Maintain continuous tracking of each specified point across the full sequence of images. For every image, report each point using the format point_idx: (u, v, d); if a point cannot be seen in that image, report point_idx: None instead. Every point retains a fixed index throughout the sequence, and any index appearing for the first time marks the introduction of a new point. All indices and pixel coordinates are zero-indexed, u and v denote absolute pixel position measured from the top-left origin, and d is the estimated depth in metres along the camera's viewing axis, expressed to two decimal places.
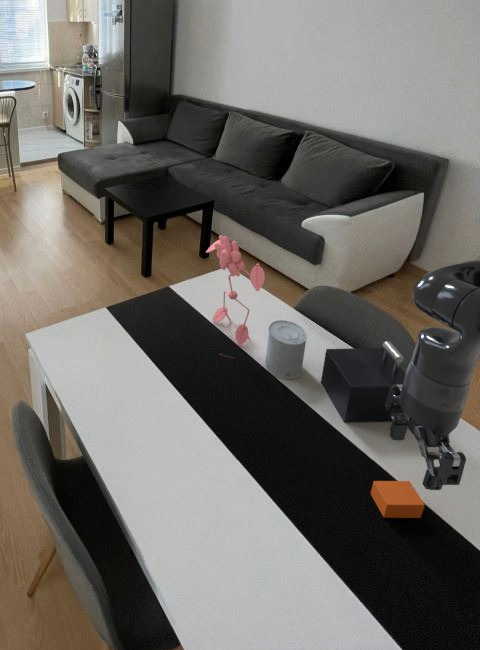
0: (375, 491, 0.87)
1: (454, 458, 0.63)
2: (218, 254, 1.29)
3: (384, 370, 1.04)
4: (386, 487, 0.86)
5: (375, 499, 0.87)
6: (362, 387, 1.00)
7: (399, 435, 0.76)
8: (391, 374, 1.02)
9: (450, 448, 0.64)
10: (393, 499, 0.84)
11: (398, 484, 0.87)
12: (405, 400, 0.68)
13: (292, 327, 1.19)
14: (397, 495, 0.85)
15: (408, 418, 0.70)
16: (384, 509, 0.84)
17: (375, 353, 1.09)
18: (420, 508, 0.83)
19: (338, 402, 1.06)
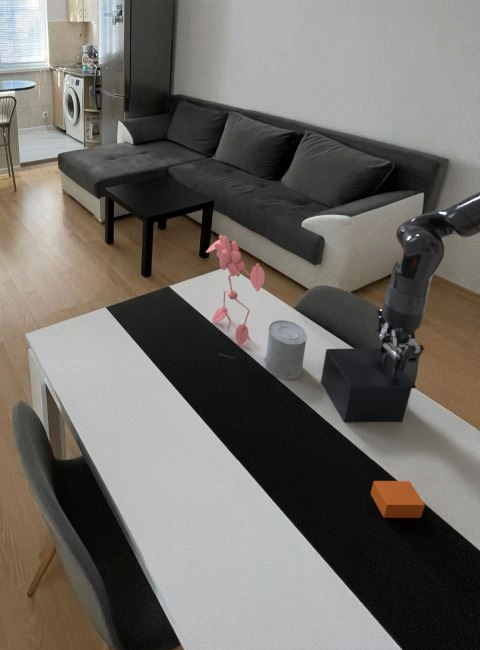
0: (375, 491, 0.87)
1: (416, 349, 0.94)
2: (218, 254, 1.29)
3: (384, 370, 1.04)
4: (386, 487, 0.86)
5: (375, 499, 0.87)
6: (362, 387, 1.00)
7: None
8: (391, 374, 1.02)
9: (414, 342, 0.95)
10: (393, 499, 0.84)
11: (398, 484, 0.87)
12: (385, 311, 0.99)
13: (292, 327, 1.19)
14: (397, 495, 0.85)
15: (388, 325, 1.01)
16: (384, 509, 0.84)
17: (375, 353, 1.09)
18: (420, 508, 0.83)
19: (338, 402, 1.06)
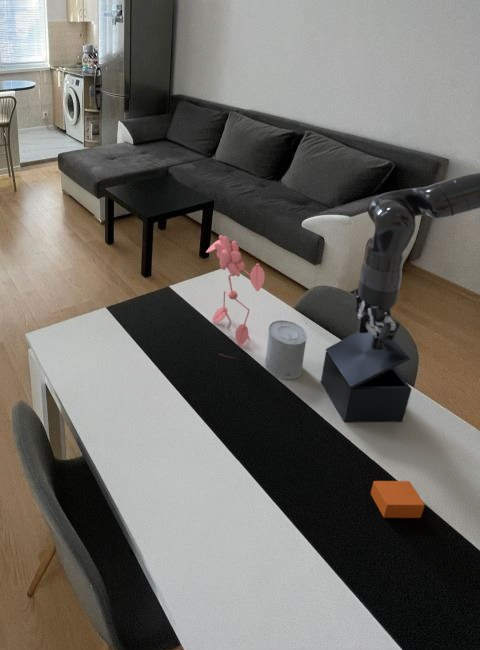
0: (375, 491, 0.87)
1: (391, 326, 0.93)
2: (218, 254, 1.29)
3: (378, 351, 1.02)
4: (386, 487, 0.86)
5: (375, 499, 0.87)
6: (360, 382, 0.99)
7: (364, 329, 1.04)
8: (385, 353, 1.00)
9: (390, 319, 0.94)
10: (393, 499, 0.84)
11: (398, 484, 0.87)
12: (360, 289, 0.97)
13: (292, 327, 1.19)
14: (397, 495, 0.85)
15: (364, 304, 1.00)
16: (384, 509, 0.84)
17: (369, 332, 1.06)
18: (420, 508, 0.83)
19: (338, 402, 1.06)
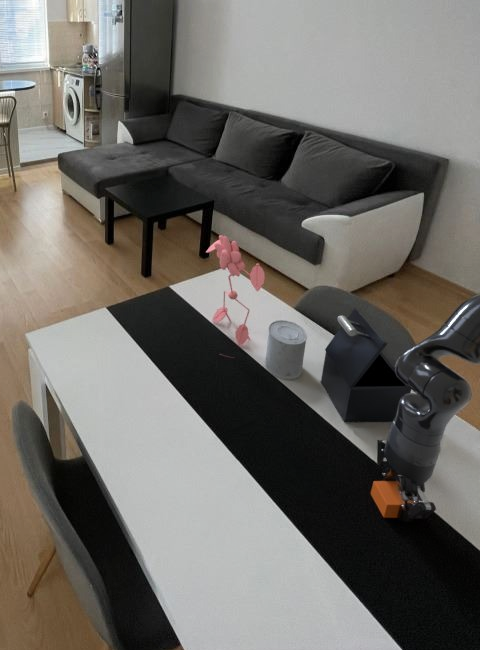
0: (375, 491, 0.87)
1: (426, 508, 0.77)
2: (218, 254, 1.29)
3: (362, 341, 1.01)
4: (386, 487, 0.86)
5: (375, 499, 0.87)
6: (356, 380, 0.99)
7: None
8: (367, 343, 0.99)
9: (424, 498, 0.78)
10: (393, 499, 0.84)
11: None
12: (388, 453, 0.82)
13: (292, 327, 1.19)
14: (397, 495, 0.85)
15: (391, 467, 0.84)
16: (384, 509, 0.84)
17: None
18: None
19: (338, 402, 1.06)
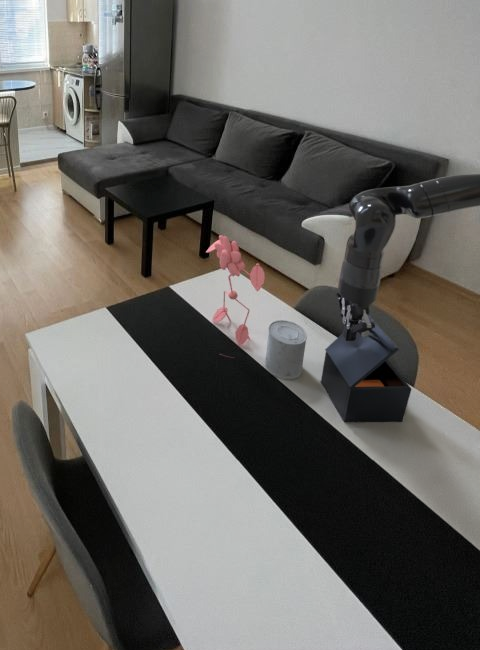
0: None
1: (367, 327, 0.94)
2: (218, 254, 1.29)
3: (370, 344, 1.01)
4: (361, 384, 1.08)
5: None
6: (358, 381, 0.99)
7: None
8: (376, 346, 0.99)
9: (367, 319, 0.94)
10: None
11: (370, 382, 1.09)
12: (340, 286, 0.97)
13: (292, 327, 1.19)
14: None
15: (344, 301, 1.00)
16: None
17: None
18: None
19: (338, 402, 1.06)
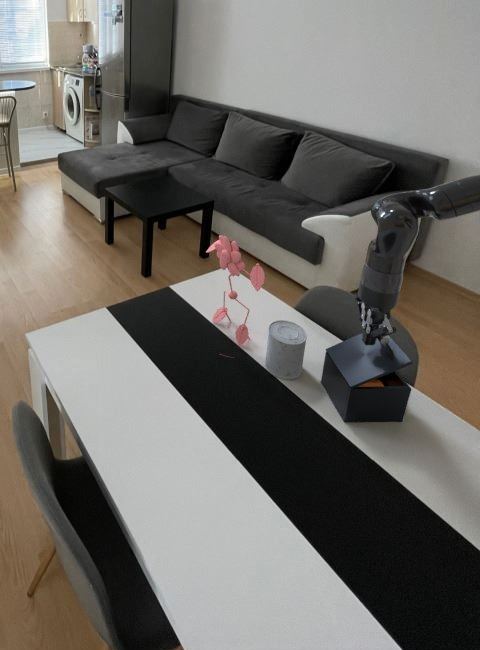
0: None
1: (388, 331, 0.94)
2: (218, 254, 1.29)
3: (381, 353, 1.02)
4: None
5: None
6: (361, 383, 0.99)
7: None
8: (388, 356, 1.00)
9: (388, 324, 0.94)
10: None
11: (370, 382, 1.09)
12: (361, 291, 0.97)
13: (292, 327, 1.19)
14: None
15: (364, 306, 1.00)
16: None
17: None
18: None
19: (338, 402, 1.06)
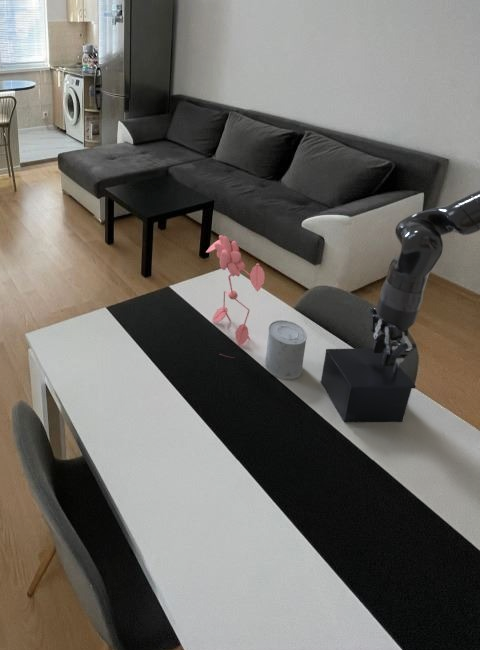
0: None
1: (408, 347, 0.94)
2: (218, 254, 1.29)
3: (384, 370, 1.04)
4: None
5: None
6: (362, 387, 1.00)
7: (379, 349, 1.05)
8: (391, 375, 1.02)
9: (407, 340, 0.95)
10: None
11: None
12: (380, 307, 0.99)
13: (292, 327, 1.19)
14: None
15: (381, 322, 1.01)
16: None
17: (375, 353, 1.09)
18: None
19: (338, 402, 1.06)
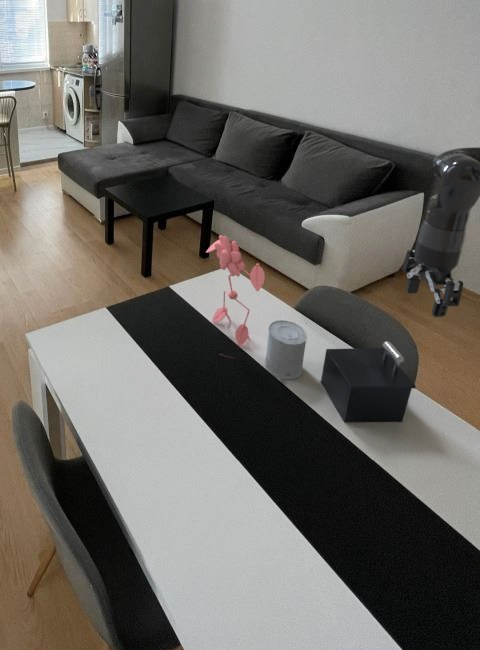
0: None
1: (455, 284, 0.88)
2: (218, 254, 1.29)
3: (384, 370, 1.04)
4: None
5: None
6: (362, 387, 1.00)
7: (413, 289, 1.01)
8: (391, 375, 1.02)
9: (452, 279, 0.89)
10: None
11: None
12: (419, 251, 0.93)
13: (292, 327, 1.19)
14: None
15: (421, 268, 0.95)
16: None
17: (375, 353, 1.09)
18: None
19: (338, 402, 1.06)
